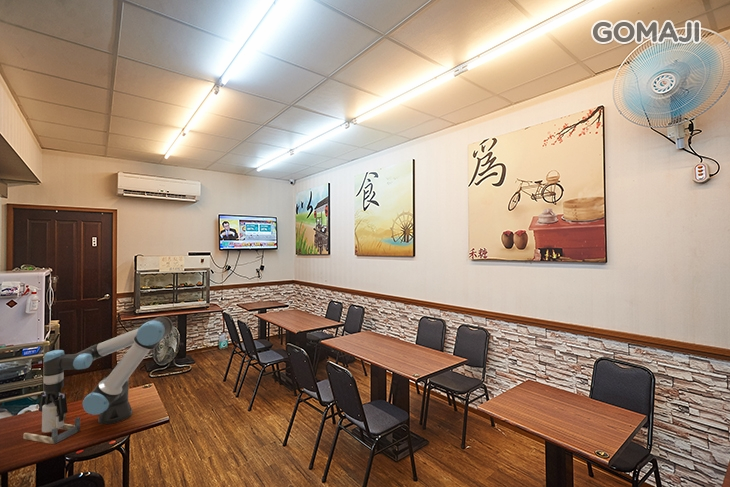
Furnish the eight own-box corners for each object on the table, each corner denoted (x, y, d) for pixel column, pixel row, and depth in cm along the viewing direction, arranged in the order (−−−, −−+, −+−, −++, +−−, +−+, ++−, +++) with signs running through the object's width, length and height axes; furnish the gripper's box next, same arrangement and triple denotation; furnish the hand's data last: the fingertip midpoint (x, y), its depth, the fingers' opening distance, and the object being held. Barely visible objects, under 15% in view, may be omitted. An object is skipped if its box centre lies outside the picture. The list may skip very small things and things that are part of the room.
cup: (50, 433, 164) (50, 409, 164) (37, 431, 166) (37, 407, 166) (67, 424, 172) (68, 401, 172) (55, 422, 173) (55, 399, 174)
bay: (80, 430, 172) (80, 417, 172) (53, 444, 161) (54, 429, 161) (50, 426, 177) (51, 412, 177) (23, 438, 165) (23, 424, 165)
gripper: (77, 380, 170) (76, 425, 170) (46, 376, 175) (46, 420, 175) (61, 386, 163) (60, 433, 163) (29, 382, 168) (28, 427, 167)
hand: (53, 426), depth 169 cm, fingers closed on cup, 8 cm apart
